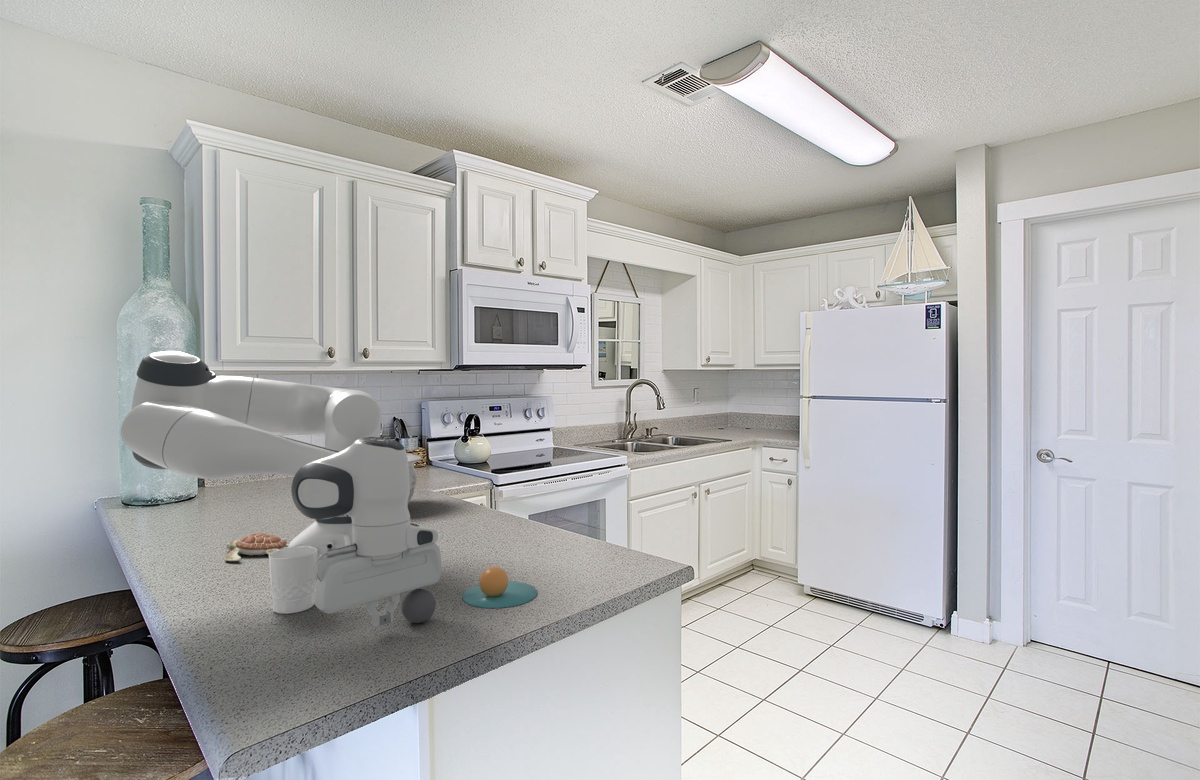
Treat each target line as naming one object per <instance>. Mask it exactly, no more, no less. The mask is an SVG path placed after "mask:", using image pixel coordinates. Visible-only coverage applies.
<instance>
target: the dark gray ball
mask: <svg viewBox="0 0 1200 780" xmlns="http://www.w3.org/2000/svg"><path fill="white" fill-rule="evenodd" d="M436 603H437V602H436V598H435V597H434V595H433V593H431V591H429V590H427V589H425V588H417V589H414V590H410V591H409V593H407V594H406V596H405V597H404V598H403V600H402V604H401V612H402V614H403V616H404V618H405V619H406V620H407V621H408V622H410V623H413V624H421V623H425V622H427V621H428V620H429V619H431V617H432V616H433V615H434V613H435V611H436V607H437V605H436Z"/></svg>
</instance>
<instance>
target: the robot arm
mask: <svg viewBox="0 0 1200 780" xmlns="http://www.w3.org/2000/svg"><path fill="white" fill-rule="evenodd" d="M136 376H137V379H136V383H135V387H134V391H133V397H132V401H131V402H132V403H131V410H129V411H128V413H126V416H124V419H123V420H122V423H121V426H120V427H121V428H120V435H121V439H122V442H123V443H124V445H125V446H126V447H127V448H128V449H129V450H130V451H131V452H132V456H133V458H134V459H135V460H136V461H137V462H138V463H140V465H142V466H144V467H147V468H148V469H149V468H150V469H156V470H169V471H172V472H175V473H178V474H179V475H180V474H181V475H183V476H186V477H191V478H197V479H204V480H212V481H213V480H214V481H215V480H216V481H217V480H218V481H219V480H227V479H234V478H241V477H247V476H255V475H267V474H268V475H271V474H274V475H283V476H289V477H293V479H292V482H291V488H290V489H291V490H290V491H291V498H292V501H293V503H294V505H295V507H296V509H298V511H299V512H300V513H301V514H302V515H303V516H305V517H307V518H309V519H313V520H315V521H314V522H313V523H311V524H310V525H309V526H307V527H306V528H305V529H304V530H303V531H301V532H300V533H299V534H297V535H296V536H295V537H294V538H293V539H292V540H291V541H290V542H289V543H290V544H289V546H288V547H287V548H290V547H300V546H308V547H315V548H317V549H318V553H317V561H316V589H315V604H314V606H316V608H317V609H318V610H320V611H321V612H323V613H325V614H328V615H330V614H334V613H338V612H341V611H344V610H347V609H351V608H354V607H355V608H356V607H357V606H362V605H363V606H364V607H365V609H366V610H367V612H368V613H369V614H370V615H371V616H370V617H371V619H370V621H371V622H370V623H371V626H372V627H374V628H378V627H381V626H385V625H388V624H391V623H393V622H394V612H395V611H396V609H397V607H398V605H399V603H400V601H401V594H404V593H406V592H411V591H413V590H416V589H422V588H424V587H428V586H431V585H435V584H437V583H438V582H439V580H440V579H441V577H442V572H443V571H442V568H443V567H442V554H441V549H440V547H439V545H438V544H437V543H436V542H438V539H439V532H438V530H436V529H434V528H431V527H429V526H425V525H421V524H418V523H417V524H416V523H413V522H412V523H411V514H410V511H409V506H408V505H409V504H408V505H407V502H408V497H409V494H410V478H409V465H408V458H407V453H408V452H407V451H406V448H405V446H404V445H403V444H402V443H401V442H398V441H397V440H395V439H392V438H388V437H381V429H382V410H381V406H380V404H379V402H378V401H377V400H376V398H375V397H374V396H373V395H371V394H370V393H368V392H365V391H363V390H360V389H358V390H357V389H348V388H347V389H346V388H339V387H333V386H332V387H331V386H323V385H316V384H315V385H314V384H307V383H299V382H290V381H283V380H277V379H276V380H275V379H267V378H259V377H252V376H238V375H216V373H214V372H213V371H212V370H210V369H209V366H208V364H207V363H205V362H204V361H203V360H202V359H200V358H199V357H197V356H195V355H192V354H189V353H186V352H182V351H177V350H165V351H156V352H155V351H154V352H151V353H150V354H149V353H148V355H146V356H143V357H142V359H141V361H140V363H139V365H138V367H137V371H136ZM278 434H279V435H278ZM282 435H288V436H289V435H292V436H293V435H295V436H313V437H315V436H316V437H317V436H318V437H320V436H321V437H324V446H319V445H316V444H312V443H309V442H305V441H301V440H297V439H293V438H289V437H285V436H282ZM382 599H386V600H387V602H386V604H385V607H384V608H383V610H381V611H378V609H377V608H376V607H378V606H379V605H380V601H379V600H382Z"/></svg>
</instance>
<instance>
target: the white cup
mask: <svg viewBox="0 0 1200 780" xmlns="http://www.w3.org/2000/svg"><path fill="white" fill-rule="evenodd" d="M317 553H318V549H317V548H315V547H308V546H300V547H290V548H288V547H284V548H283V549H280V550H277V551H274V552H272V553H270V554H269V555H268V564H269V566H268V567H269V581H270V590H271V591H270V592H271V593H270V594H271V597H272V610H273V612H274V613H277V614H285V615H288V614H296V613H300V612H304V611H307V610H309V609H311V608H312V607H313V606H315V590H316V582H317V579H316V561H317Z"/></svg>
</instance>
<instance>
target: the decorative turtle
mask: <svg viewBox="0 0 1200 780" xmlns="http://www.w3.org/2000/svg"><path fill="white" fill-rule="evenodd" d="M287 540H288V539H287V538H281V537H279V536H276V535H273V534H269V533H262V532H261V533H252V534H248V535H247V536H244V537H242V538H241V539H238V540H235V539H234V540H231V541H228V543H227V544H226V549H227V551H229V552H228V553H226V554H225V556H224V560H225V561H226V562H227V561H228V562H239V561H241V560H242V557H241V556H240V555H239V554H241V555H247V556H253V555H258V556H265V555H264V554H267V555H268V556H269V554H270V553H272V552H274V551H277V550H280V549H284V548H288V546H289V544H290V542H287Z"/></svg>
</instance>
